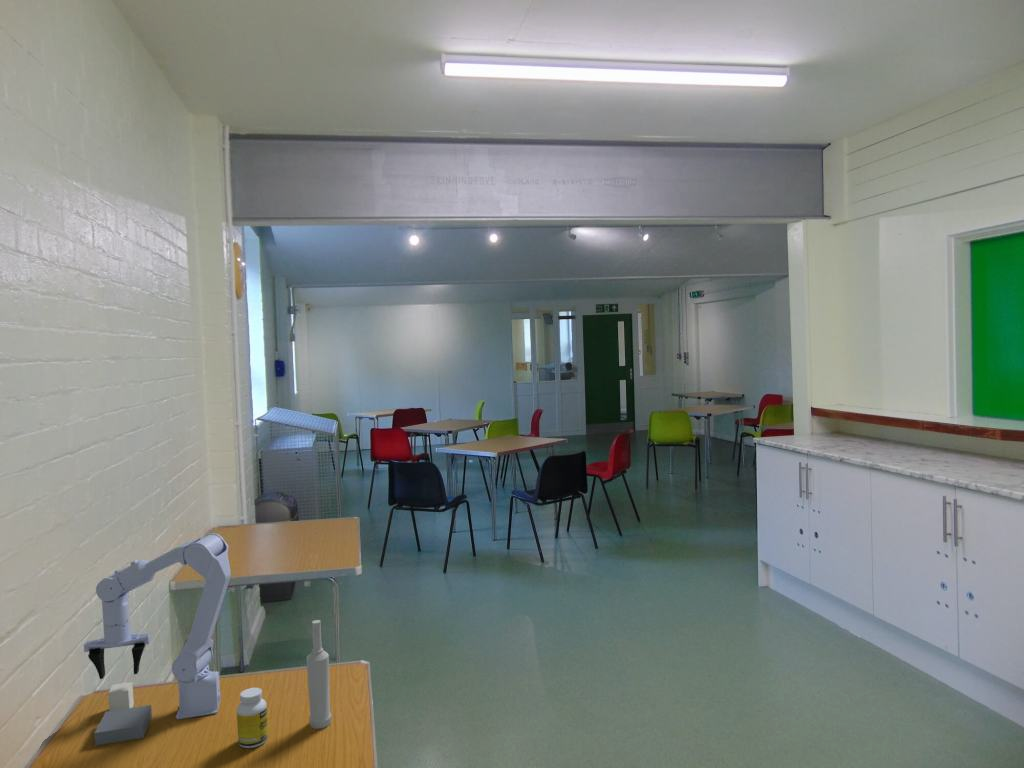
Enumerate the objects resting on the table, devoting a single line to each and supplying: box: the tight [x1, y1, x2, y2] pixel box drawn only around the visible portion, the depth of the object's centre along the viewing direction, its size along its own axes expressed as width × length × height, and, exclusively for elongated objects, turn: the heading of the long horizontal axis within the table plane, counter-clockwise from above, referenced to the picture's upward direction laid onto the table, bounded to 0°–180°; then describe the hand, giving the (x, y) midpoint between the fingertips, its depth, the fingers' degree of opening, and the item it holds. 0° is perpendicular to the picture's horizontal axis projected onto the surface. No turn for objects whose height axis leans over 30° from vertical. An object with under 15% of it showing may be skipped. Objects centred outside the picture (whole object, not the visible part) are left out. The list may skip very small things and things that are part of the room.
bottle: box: [306, 619, 332, 730], centre depth 170 cm, size 5×5×25 cm
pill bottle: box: [236, 687, 269, 749], centre depth 163 cm, size 6×6×12 cm
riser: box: [93, 704, 153, 747], centre depth 170 cm, size 10×10×3 cm
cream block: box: [107, 681, 135, 711], centre depth 179 cm, size 4×4×6 cm
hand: (119, 674), depth 179 cm, fingers open, 7 cm apart
